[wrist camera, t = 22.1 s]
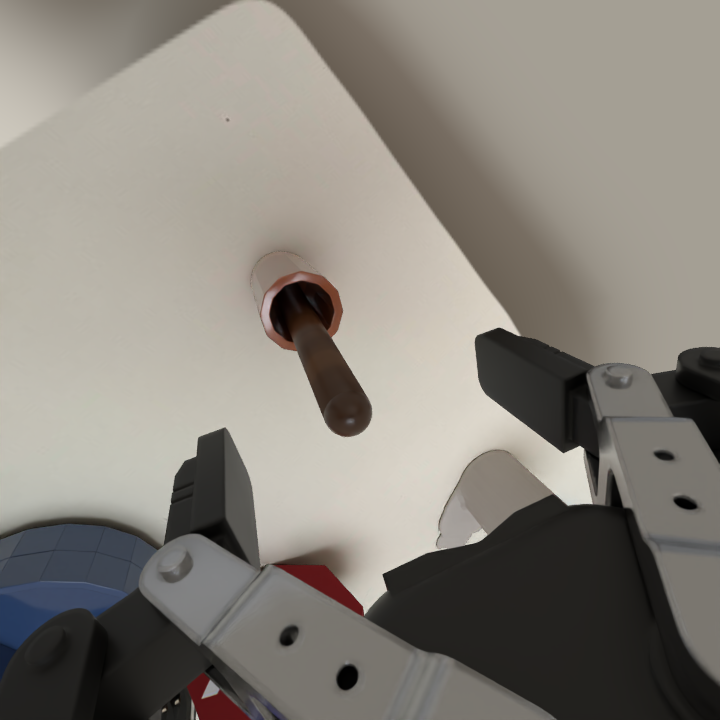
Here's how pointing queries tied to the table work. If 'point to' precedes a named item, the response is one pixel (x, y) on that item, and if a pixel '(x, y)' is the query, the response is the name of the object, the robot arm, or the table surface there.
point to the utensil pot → (319, 292)
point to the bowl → (63, 576)
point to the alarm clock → (210, 702)
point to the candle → (488, 497)
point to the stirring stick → (324, 366)
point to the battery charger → (179, 707)
